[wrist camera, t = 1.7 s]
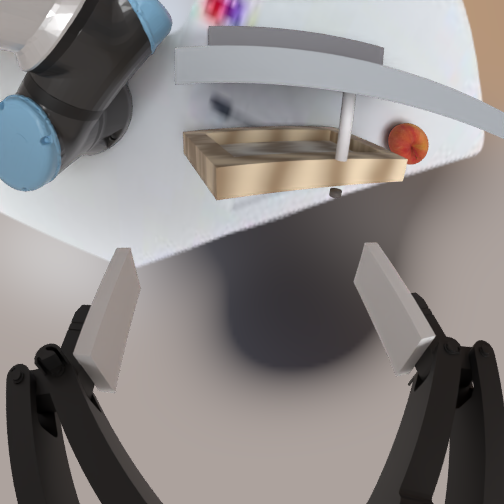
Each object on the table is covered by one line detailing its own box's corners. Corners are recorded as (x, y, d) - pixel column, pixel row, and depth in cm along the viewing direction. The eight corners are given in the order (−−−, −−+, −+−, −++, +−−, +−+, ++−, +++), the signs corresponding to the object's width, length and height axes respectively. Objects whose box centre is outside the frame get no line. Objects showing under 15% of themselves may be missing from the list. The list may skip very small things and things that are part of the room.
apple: (416, 125, 45) (441, 136, 39) (406, 159, 49) (429, 174, 43) (386, 114, 44) (409, 123, 37) (376, 150, 48) (397, 165, 42)
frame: (184, 157, 38) (222, 214, 24) (183, 131, 35) (222, 173, 22) (331, 147, 45) (410, 190, 32) (333, 127, 43) (417, 164, 30)
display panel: (207, 117, 43) (179, 189, 19) (209, 27, 34) (179, -36, 10) (370, 128, 46) (489, 206, 21) (379, 47, 37) (518, 60, 12)
